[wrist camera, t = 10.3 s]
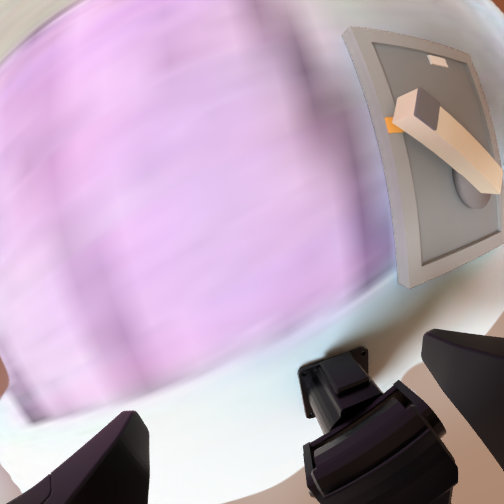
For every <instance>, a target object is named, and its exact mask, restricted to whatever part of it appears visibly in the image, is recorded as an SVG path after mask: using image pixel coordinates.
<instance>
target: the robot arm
mask: <svg viewBox="0 0 504 504" xmlns="http://www.w3.org/2000/svg"><path fill="white" fill-rule="evenodd" d="M361 352H363V353H361ZM421 357H422V360H423V362H424V363H425V364H426V366H427V368H428V369H429V371H430V372H431V373H432V375H433V376H434V378H435V380H436V381H437V383H438V384H439V386H440V387H441V389H442V390H443V392H444V393H445V394H446V395H447V397H448V398H449V399H450V400H451V402H452V403H453V404H454V405H455V407H456V408H457V409H458V410H459V412H460V413H461V414H462V415H463V416H464V418H465V419H466V420H467V422H468V423H469V424H470V425H471V427H472V428H473V429H474V431H475V432H476V433H477V435H478V436H479V437H480V439H481V440H482V441H483V443H484V444H485V445H486V447H487V448H488V449H489V451H490V452H491V454H492V455H493V456H494V458H495V459H496V461H497V462H498V463H499V465H500V466H501V468H502V469H503V471H504V338H501V337H492V336H484V335H476V334H468V333H461V332H454V331H447V330H440V329H432V330H430V331H428V332H426V333H425V334H424V336H423V343H422V352H421ZM303 372H306V373H305V374H302V373H303ZM298 378H299V384H300V389H301V394H302V399H303V405H304V410H305V415H306V417H307V418H309V419H310V418H314V417H316V418H317V420H318V423H319V425H320V427H321V429H322V431H323V434H324V435H323V436H321V437H319V438H318V439H316V440H314V441H313V442H311V443H310V442H309V443H307V444H305V445H303V451H304V454H303V456H304V464H305V472H306V480H307V487H308V488H309V494H310V495H311V497H314V498H316V499H317V500H318V501H319V502H320V504H451V497H452V490H453V486H455V485H456V484H457V483H458V467H457V466H456V464H455V460H454V458H453V457H452V455H451V453H450V452H449V451H448V449H447V448H446V446H445V445H444V443H443V442H442V441H441V439H440V438H442V437H443V436H444V435H445V434H446V430H445V428H444V426H443V424H442V423H441V421H440V420H439V418H438V417H437V415H436V414H435V413H434V412H433V410H432V409H431V408H430V407H429V406H428V405H427V404H426V403H425V402H424V401H423V400H422V399H421V398H420V397H418V396H417V395H416V394H415V393H414V392H413V391H411V390H410V389H409V388H408V387H407V386H405V385H404V384H403V383H402V382H401V381H400V380H398V381H397V382H395V383H394V384H393V386H392V387H391V388H390V389H389V390H387V391H386V392H385V393H383V392H382V391H381V390H380V389H379V387H378V386H377V385H376V384H375V382H374V381H373V380H372V379H371V378H370V376H369V375H368V350H367V349H366V348H365V347H359V348H357V349H354V350H352V351H349V352H346V353H344V354H341V355H338V356H335V357H332V358H330V359H327V360H324V361H321V362H318V363H315V364H312V365H309V366H305V367H302V368H300V369H299V370H298ZM311 413H312V414H311ZM149 478H150V461H149V431H148V429H147V427H146V425H145V424H144V422H143V421H142V419H141V417H140V416H139V414H138V413H137V412H136V411H123V412H121V413H120V414H119V415H118V416H117V417H116V418H115V419H113V420H112V421H111V422H110V423H109V424H108V425H107V426H106V427H104V428H103V429H102V430H101V431H100V432H99V433H98V434H96V435H95V436H94V437H93V438H92V439H91V440H89V441H88V442H87V443H86V444H85V445H84V446H82V447H81V448H80V449H79V450H78V451H77V452H75V453H74V454H73V455H72V456H71V457H69V458H68V459H67V460H66V461H65V462H64V463H62V464H61V465H60V466H59V467H57V468H56V469H55V470H54V471H53V472H51V474H49V475H48V476H46V477H45V478H44V479H43V480H41V481H40V482H39V483H38V484H36V485H35V486H34V487H32V488H31V489H29V490H28V491H26V492H25V493H23V494H22V495H20V496H18V497H17V498H15V499H13V500H12V501H10V502H8V503H7V504H148V491H149Z"/></svg>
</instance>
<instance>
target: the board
mask: <svg viewBox="0 0 504 504" xmlns="http://www.w3.org/2000/svg"><path fill="white" fill-rule="evenodd" d="M342 37H343V39H344V41H345V44H346V46H347V49H348V51H349V54H350V56H351V59H352V61H353V64H354V67H355V69H356V72H357V75H358V78H359V80H360V83H361V86H362V89H363V92H364V95H365V99H366V102H367V105H368V108H369V112H370V115H371V119H372V122H373V126H374V130H375V134H376V137H377V142H378V146H379V150H380V154H381V159H382V163H383V168H384V173H385V178H386V184H387V189H388V195H389V201H390V208H391V215H392V222H393V230H394V239H395V249H396V261H397V277H398V284H400V285H402V286H404V287H406V288H408V289H411V288H413V287H415V286H418V285H420V284H422V283H425V282H427V281H429V280H432V279H434V278H436V277H438V276H440V275H443V274H445V273H447V272H449V271H451V270H453V269H455V268H458V267H460V266H462V265H464V264H466V263H468V262H470V261H472V260H474V259H476V258H478V257H480V256H482V255H483V254H485V253H487V252H489V251H491V250H493V249H495V248H497V247H498V246H500V245H502V244H504V183H503V177H502V185H501V192H500V194H491V197H490V200H489V202H488V203H487V205H486V206H485V207H484V208H482V209H475V208H469V207H467V206H465V205H464V204H463V203H462V201H461V200H460V198H459V196H458V194H457V192H456V188H455V185H454V179H453V168H452V167H451V166H450V165H449V164H448V163H446V162H445V161H444V160H443V159H441V158H440V157H439V156H438V155H436V154H435V153H434V152H433V151H431V150H430V149H429V148H427V147H426V146H425V145H423V144H422V143H421V142H419V141H418V140H416V139H415V138H414V137H412V136H411V135H409V134H408V133H406V132H405V131H404V130H402V129H401V128H399V127H398V126H396V125H395V124H393V123H392V121H393V116H394V112H395V107H396V102H397V98H398V97H400V96H402V95H404V94H406V93H409V92H411V91H413V90H415V89H417V88H420V87H421V88H422V89H424V90H425V91H426V92H427V93H429V94H430V95H431V96H432V97H434V98H435V99H436V100H437V101H438V102H440V106H441V107H442V108H443V109H444V110H445V111H446V112H448V113H449V114H450V115H451V116H452V117H453V118H454V119H455V120H456V121H457V122H459V123H460V124H461V125H462V126H463V127H464V128H465V129H466V130H467V131H468V132H469V133H470V134H471V135H472V136H473V137H474V138H475V139H476V140H477V141H478V142H479V143H480V144H481V146H482V147H483V148H484V149H485V150H486V151H487V152H488V153H489V154H490V155H491V157H492V158H493V159H494V160H495V161H496V162H497V164H498V165H499V166H500V167H501V162H500V156H499V150H498V145H497V140H496V136H495V131H494V127H493V123H492V119H491V116H490V112H489V109H488V105H487V102H486V99H485V96H484V92H483V90H482V87H481V84H480V81H479V78H478V76H477V73H476V70H475V68H474V65H473V63H472V61H471V58H470V56H469V54H467V53H464V52H461V51H459V50H456V49H453V48H450V47H447V46H444V45H441V44H437V43H434V42H430V41H427V40H423V39H419V38H415V37H411V36H407V35H402V34H398V33H393V32H387V31H381V30H375V29H368V28H361V27H352V26H350V27H349V28H348V29H347V30H346V31H345V32H344V34H343V35H342Z"/></svg>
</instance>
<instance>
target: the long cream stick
mask: <svg viewBox="0 0 504 504" xmlns="http://www.w3.org/2000/svg"><path fill="white" fill-rule="evenodd" d="M392 123H393V124H395V125H396V126H398V127H399V128H401V129H402V130H404V131H405V132H406V133H408V134H409V135H411V136H412V137H414V138H415V139H416V140H418V141H419V142H421V143H422V144H423V145H425V146H426V147H427V148H429V149H430V150H431V151H433V152H434V153H435V154H436V155H438V156H439V157H440V158H441V159H443V160H444V161H445V162H446V163H448V164H449V165H450V166H451V167H452V168H453V179H454V185H455V188H456V192H457V194H458V196H459V198H460V200H461V201H462V203H463V204H464V205H465V206H467V207H469V208H475V209H482V208H484V207H485V206H486V205H487V203H488V202H489V200H490V197H491V194H500V192H501V185H502V177H503V170H502V168H501V167H500V166H499V165H498V164H497V162H496V161H495V160H494V159H493V158H492V157H491V155H490V154H489V153H488V152H487V151H486V150H485V149H484V148H483V147H482V146H481V144H480V143H479V142H478V141H477V140H476V139H475V138H474V137H473V136H472V135H471V134H470V133H469V132H468V131H467V130H466V129H465V128H464V127H463V126H462V125H461V124H460V123H459V122H457V121H456V120H455V119H454V118H453V117H452V116H451V115H450V114H449V113H448V112H446V111H445V110H444V109H443V108H442V107H441V106H440V102H438V101H437V100H436V99H435V98H434V97H432V96H431V95H430V94H429V93H427V92H426V91H425V90H424V89H422V88H421V87H420V88H417V89H415V90H413V91H411V92H409V93H406V94H404V95H402V96H400V97H398V98H397V102H396V107H395V112H394V116H393V121H392Z"/></svg>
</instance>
